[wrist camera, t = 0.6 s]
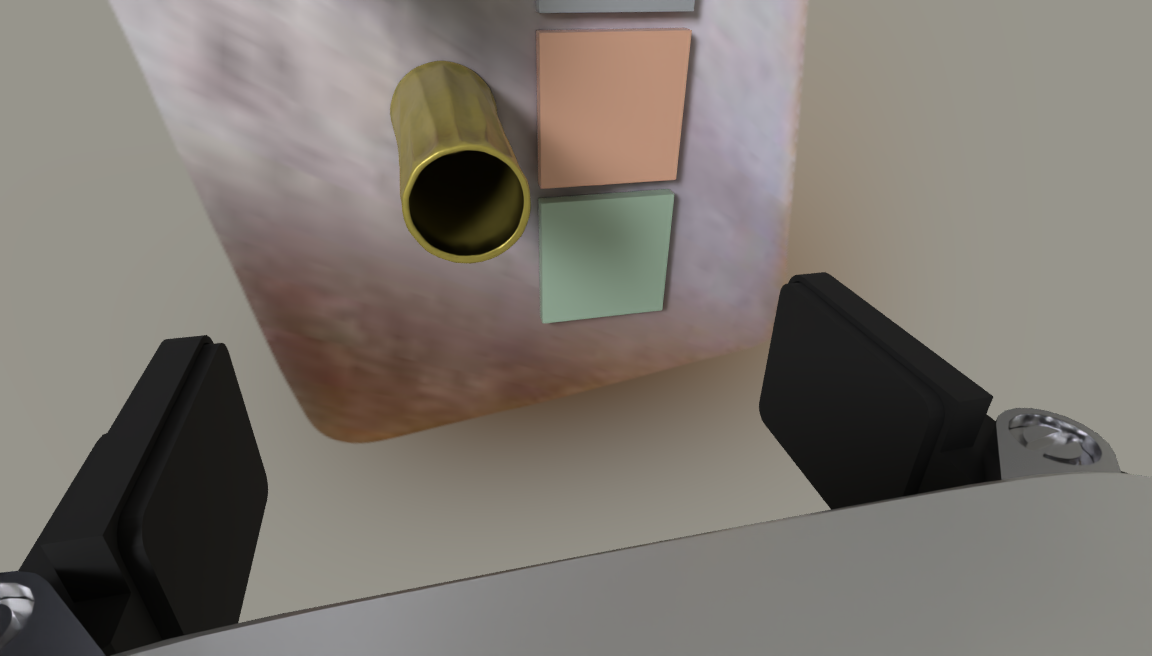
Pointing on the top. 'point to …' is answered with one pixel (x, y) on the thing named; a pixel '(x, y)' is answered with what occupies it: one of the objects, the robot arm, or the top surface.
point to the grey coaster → (613, 6)
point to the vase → (456, 165)
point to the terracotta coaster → (610, 105)
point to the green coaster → (603, 254)
